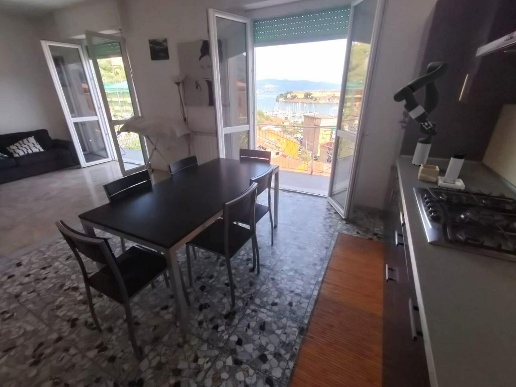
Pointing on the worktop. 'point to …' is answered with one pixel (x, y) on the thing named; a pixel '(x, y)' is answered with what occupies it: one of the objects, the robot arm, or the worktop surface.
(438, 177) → the tray
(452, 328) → the worktop surface
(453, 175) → the travel mug
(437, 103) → the robot arm
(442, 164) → the worktop surface
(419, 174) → the holder
